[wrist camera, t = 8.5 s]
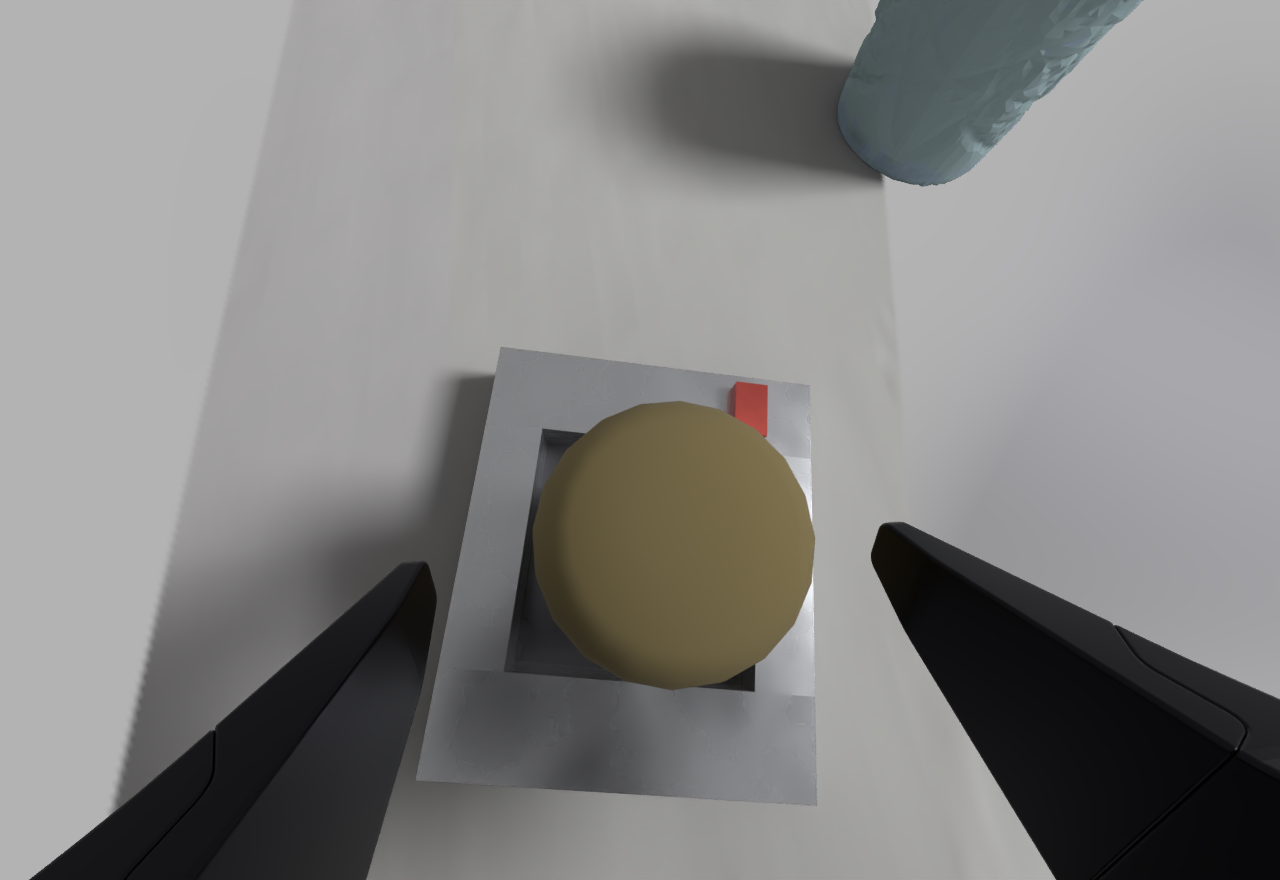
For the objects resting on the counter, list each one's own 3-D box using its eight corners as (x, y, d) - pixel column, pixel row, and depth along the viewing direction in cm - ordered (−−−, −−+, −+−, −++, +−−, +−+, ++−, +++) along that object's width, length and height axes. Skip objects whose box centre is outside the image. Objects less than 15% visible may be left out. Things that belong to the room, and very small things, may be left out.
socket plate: (785, 773, 17) (826, 815, 14) (442, 749, 16) (407, 789, 13) (784, 407, 21) (816, 379, 18) (511, 374, 20) (497, 339, 17)
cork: (521, 534, 18) (417, 470, 7) (652, 451, 19) (726, 295, 9) (609, 679, 17) (638, 855, 6) (741, 579, 18) (951, 580, 7)
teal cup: (1019, 185, 26) (1354, -124, 15) (859, 212, 24) (1095, -113, 13) (942, 53, 29) (1175, -299, 17) (792, 69, 27) (939, -308, 15)
